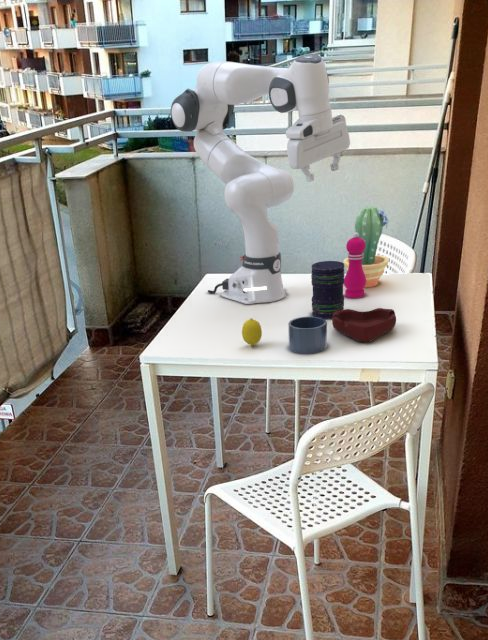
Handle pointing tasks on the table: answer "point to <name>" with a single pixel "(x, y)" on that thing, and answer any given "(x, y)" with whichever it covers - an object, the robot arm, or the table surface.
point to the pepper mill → (355, 268)
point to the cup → (307, 335)
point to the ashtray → (364, 323)
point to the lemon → (251, 332)
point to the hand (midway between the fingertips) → (322, 175)
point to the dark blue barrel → (327, 288)
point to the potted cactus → (371, 243)
